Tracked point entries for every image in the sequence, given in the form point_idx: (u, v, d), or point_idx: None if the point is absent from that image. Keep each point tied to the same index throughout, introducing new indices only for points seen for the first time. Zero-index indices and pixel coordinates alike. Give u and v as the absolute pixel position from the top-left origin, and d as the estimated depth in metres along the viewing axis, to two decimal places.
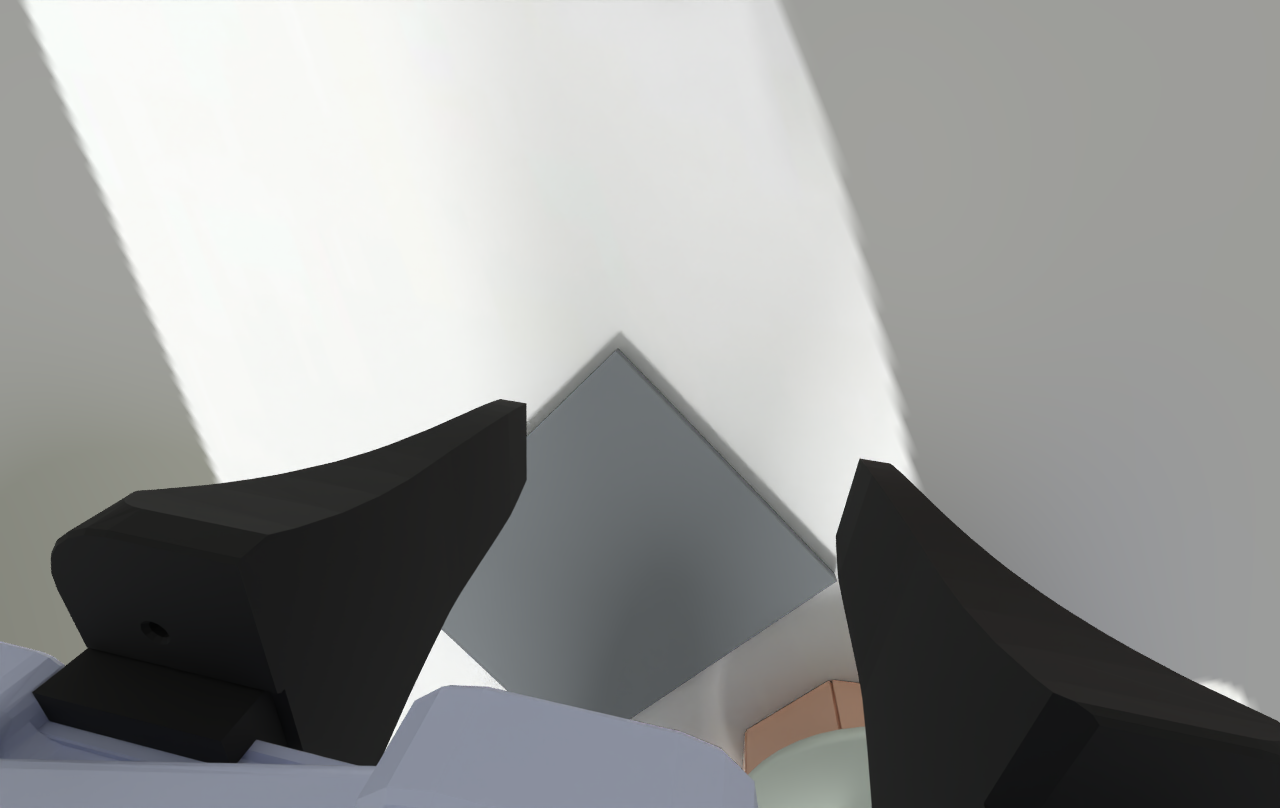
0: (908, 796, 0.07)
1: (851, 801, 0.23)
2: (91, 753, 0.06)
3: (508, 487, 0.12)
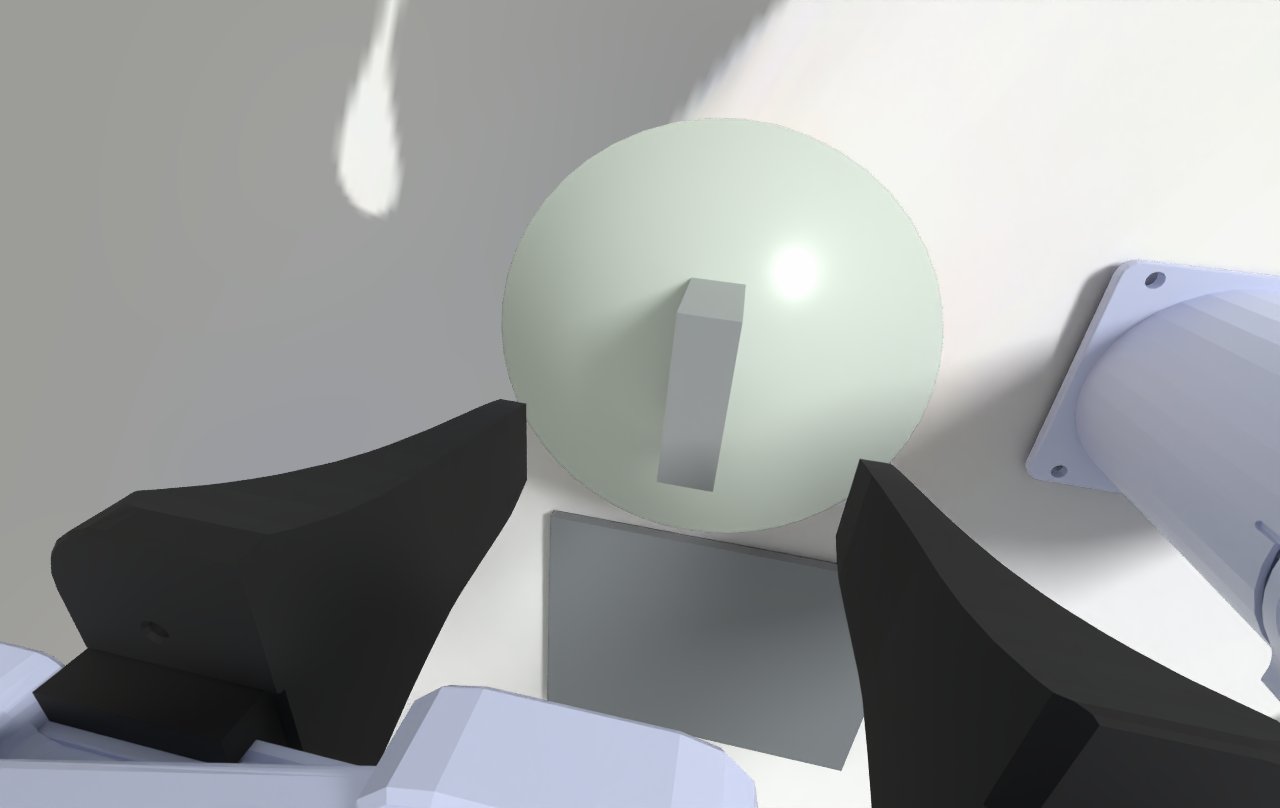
0: (908, 796, 0.07)
1: None
2: (91, 753, 0.06)
3: (508, 487, 0.12)
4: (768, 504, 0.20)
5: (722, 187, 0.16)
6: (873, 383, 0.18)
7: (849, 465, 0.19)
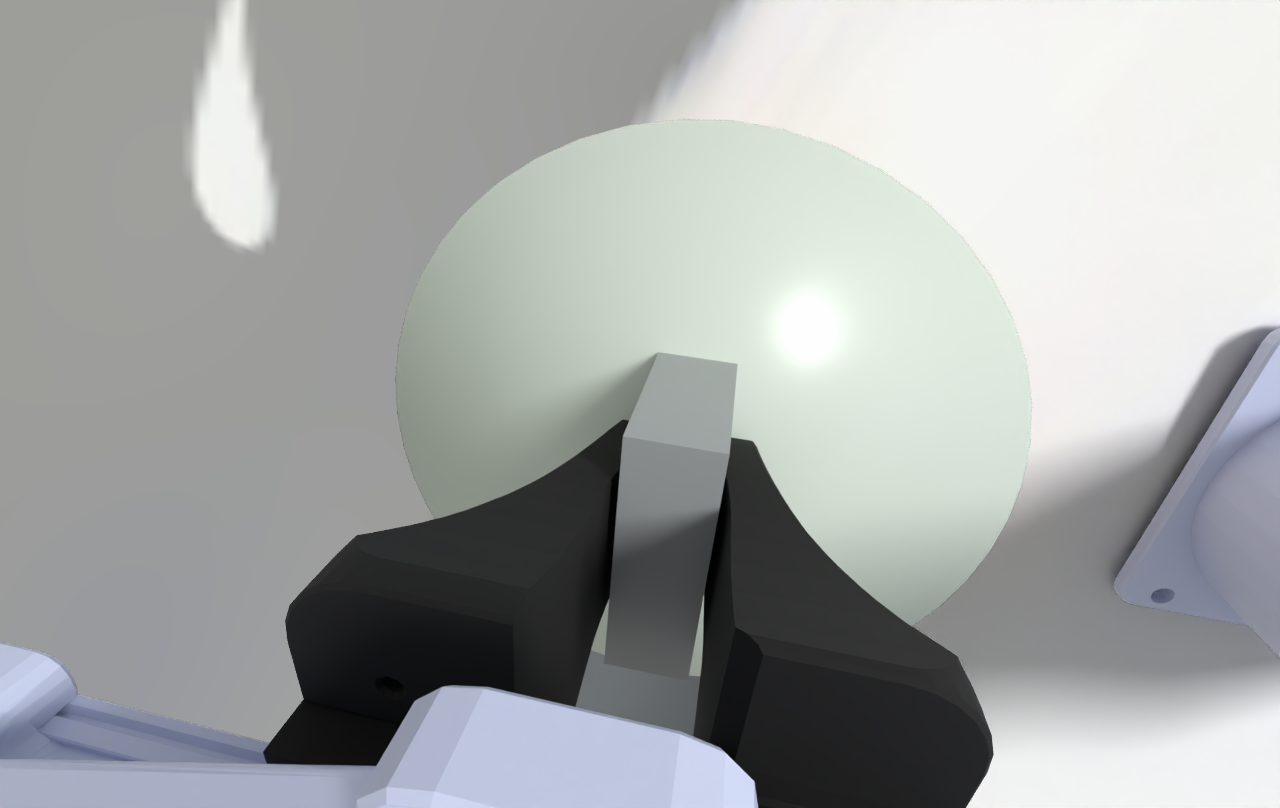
0: None
1: None
2: None
3: None
4: None
5: (701, 224, 0.10)
6: (922, 502, 0.12)
7: None
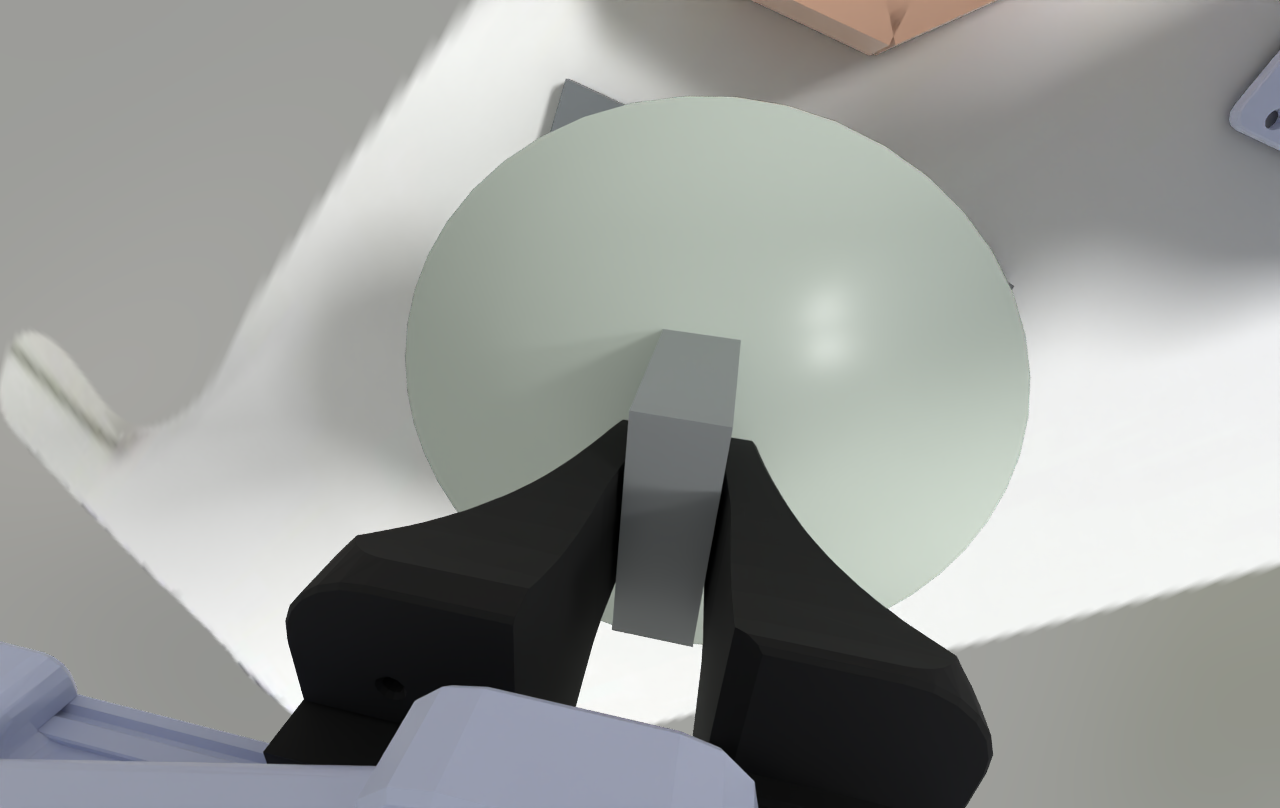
0: None
1: None
2: None
3: None
4: None
5: (705, 201, 0.11)
6: (922, 475, 0.12)
7: (883, 575, 0.14)
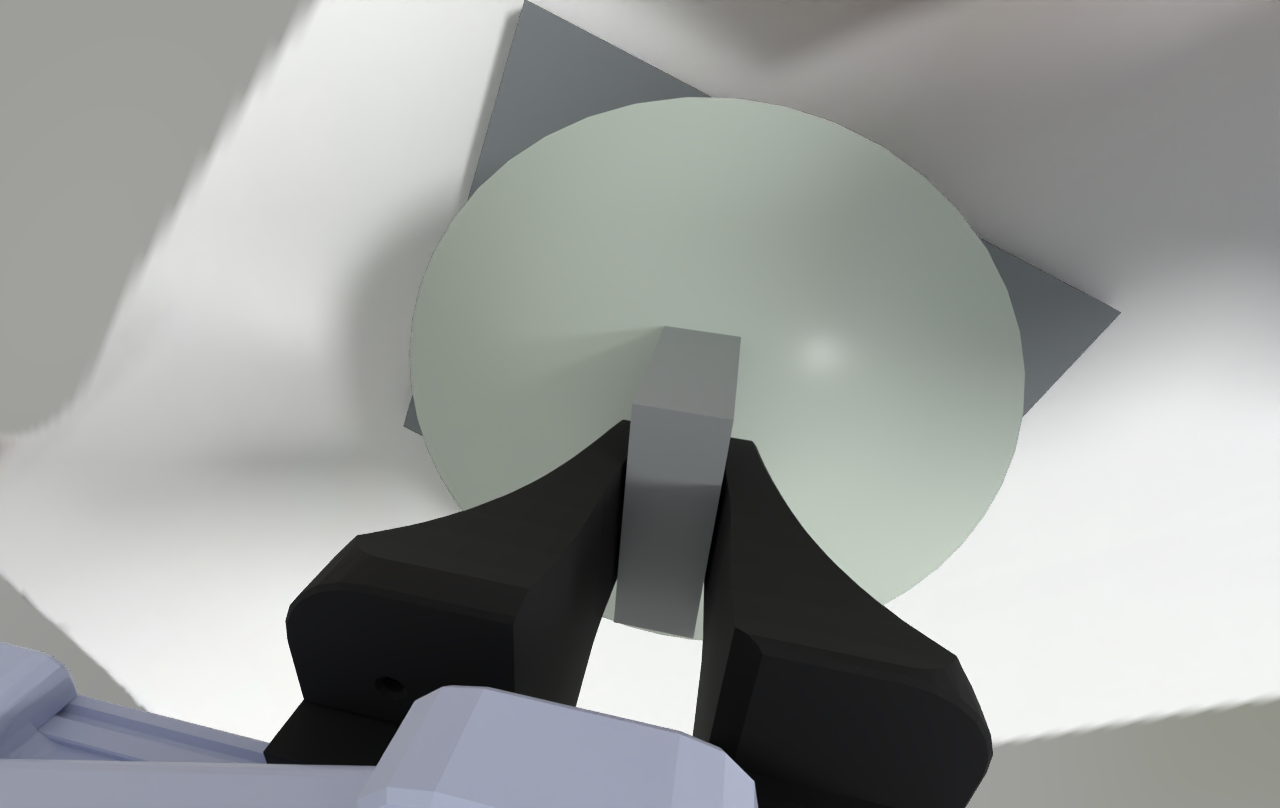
0: None
1: None
2: None
3: None
4: None
5: (706, 200, 0.11)
6: (918, 470, 0.13)
7: (881, 570, 0.14)
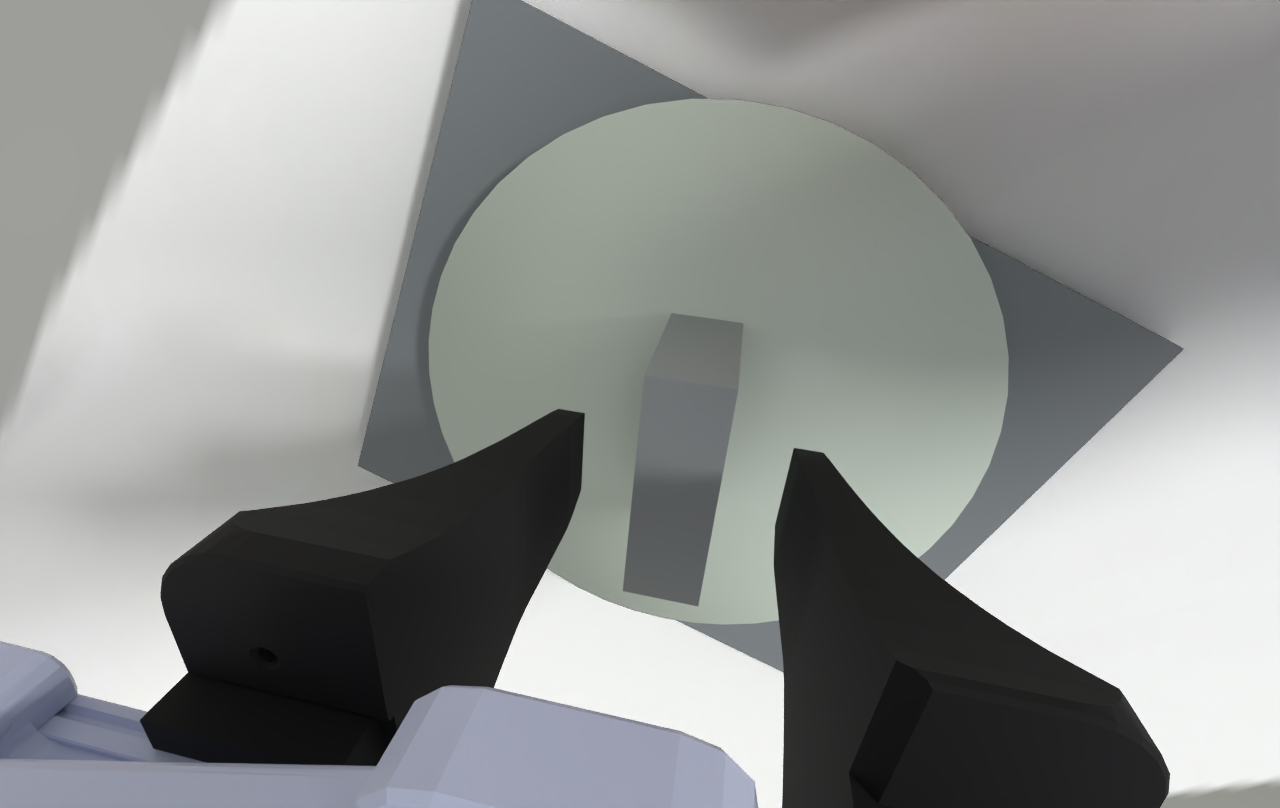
0: (805, 772, 0.08)
1: None
2: None
3: (567, 498, 0.12)
4: (772, 592, 0.16)
5: (711, 194, 0.12)
6: (911, 451, 0.13)
7: None
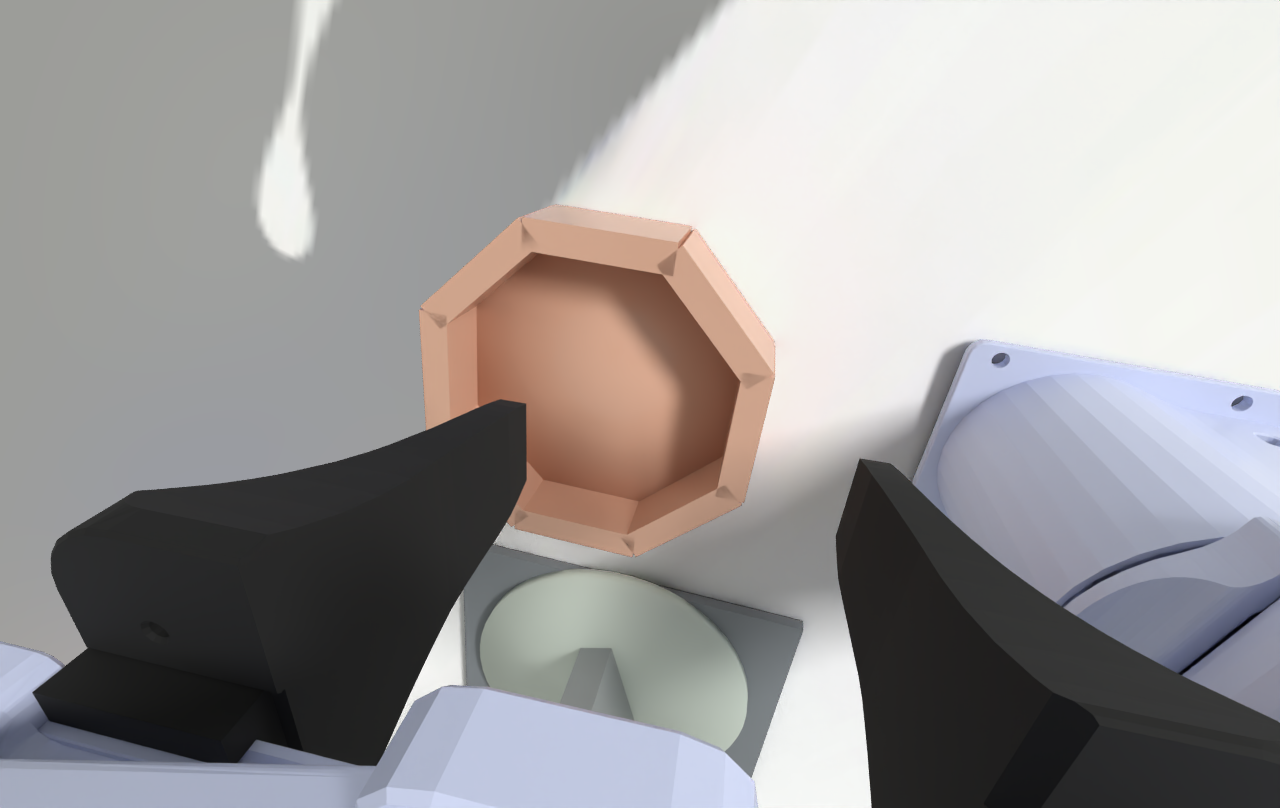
0: (908, 796, 0.07)
1: None
2: (91, 753, 0.06)
3: (508, 487, 0.12)
4: None
5: (576, 607, 0.27)
6: (709, 687, 0.27)
7: (719, 730, 0.28)
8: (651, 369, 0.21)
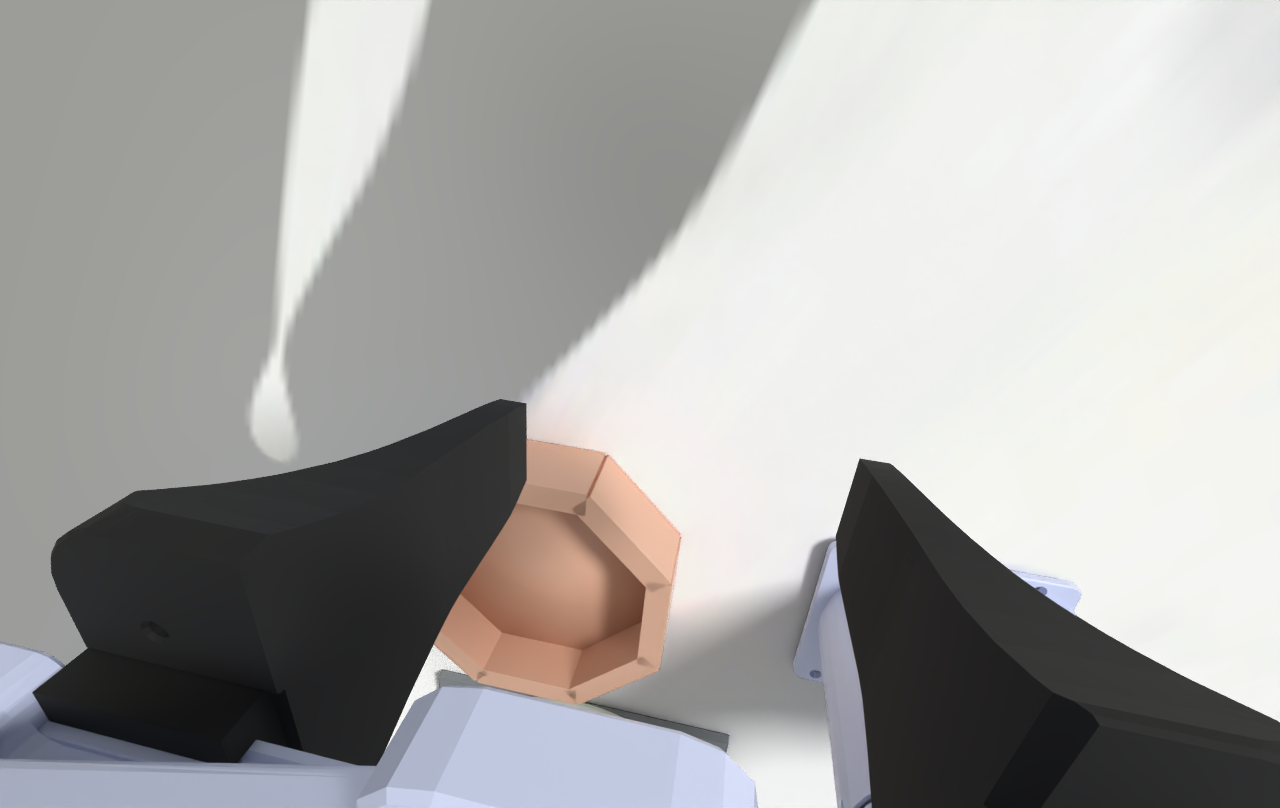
0: (908, 796, 0.07)
1: None
2: (91, 753, 0.06)
3: (508, 487, 0.12)
4: None
5: None
6: None
7: None
8: (582, 556, 0.26)
